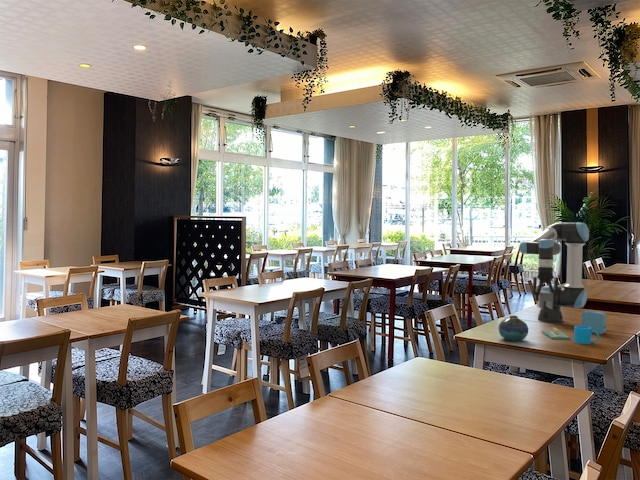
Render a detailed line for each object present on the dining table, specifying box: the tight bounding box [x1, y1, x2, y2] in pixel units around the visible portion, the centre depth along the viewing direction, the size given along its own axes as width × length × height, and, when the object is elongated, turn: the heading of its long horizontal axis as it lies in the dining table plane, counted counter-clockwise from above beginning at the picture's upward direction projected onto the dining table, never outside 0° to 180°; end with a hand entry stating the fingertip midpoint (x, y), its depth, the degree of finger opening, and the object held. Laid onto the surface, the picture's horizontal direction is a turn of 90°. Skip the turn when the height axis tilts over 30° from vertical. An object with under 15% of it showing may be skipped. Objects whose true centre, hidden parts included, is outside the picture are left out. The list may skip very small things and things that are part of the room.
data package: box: [580, 310, 607, 335], centre depth 293 cm, size 12×4×12 cm, turn 41°
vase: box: [497, 314, 529, 342], centre depth 273 cm, size 15×15×13 cm
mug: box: [573, 325, 600, 345], centre depth 268 cm, size 12×8×8 cm
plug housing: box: [538, 290, 553, 310], centre depth 283 cm, size 9×6×9 cm, turn 173°
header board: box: [541, 327, 571, 340], centre depth 283 cm, size 16×10×4 cm, turn 174°
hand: (544, 306), depth 283 cm, fingers closed on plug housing, 6 cm apart
